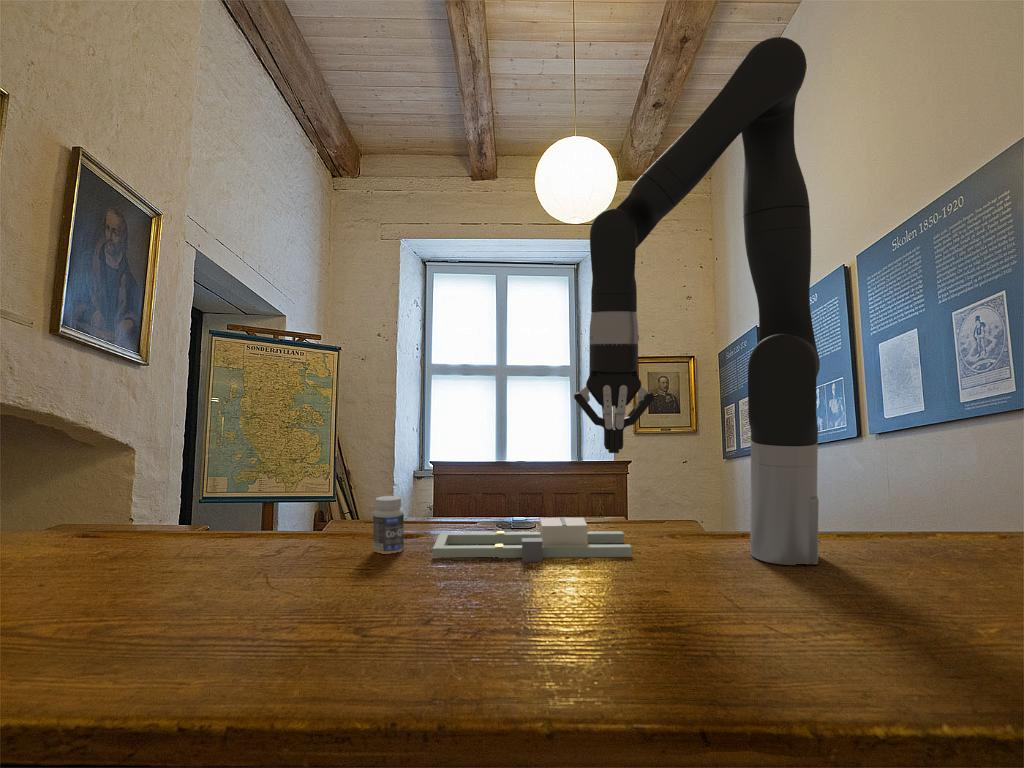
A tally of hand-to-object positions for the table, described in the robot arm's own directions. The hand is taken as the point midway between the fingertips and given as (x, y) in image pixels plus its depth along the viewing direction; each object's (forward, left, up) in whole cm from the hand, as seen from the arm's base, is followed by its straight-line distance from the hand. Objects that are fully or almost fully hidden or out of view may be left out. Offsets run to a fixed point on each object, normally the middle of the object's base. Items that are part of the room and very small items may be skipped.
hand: (613, 452), depth 107 cm
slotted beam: (+12, +5, -15) cm, 20 cm away
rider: (+7, +3, -15) cm, 17 cm away
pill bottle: (+33, +13, -15) cm, 39 cm away
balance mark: (+17, +6, -14) cm, 23 cm away
